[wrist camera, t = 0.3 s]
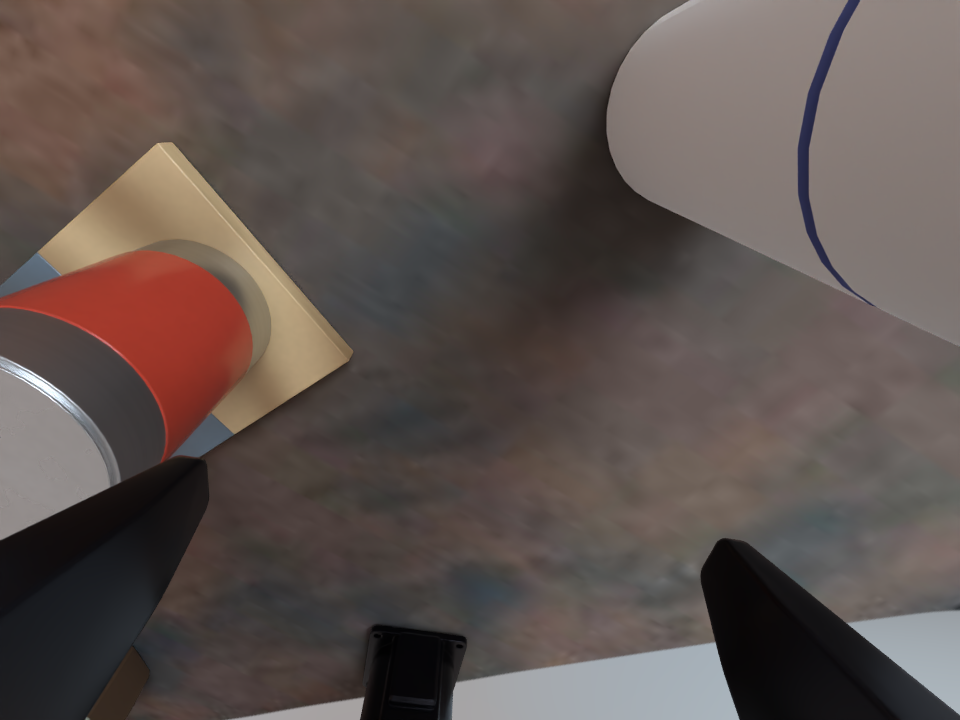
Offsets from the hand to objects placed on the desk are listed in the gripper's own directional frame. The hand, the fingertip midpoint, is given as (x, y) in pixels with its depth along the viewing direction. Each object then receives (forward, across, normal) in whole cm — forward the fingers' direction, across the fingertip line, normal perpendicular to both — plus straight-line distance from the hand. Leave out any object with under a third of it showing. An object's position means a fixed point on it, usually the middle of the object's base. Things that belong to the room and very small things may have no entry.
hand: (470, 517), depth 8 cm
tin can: (+13, +12, +4) cm, 18 cm away
